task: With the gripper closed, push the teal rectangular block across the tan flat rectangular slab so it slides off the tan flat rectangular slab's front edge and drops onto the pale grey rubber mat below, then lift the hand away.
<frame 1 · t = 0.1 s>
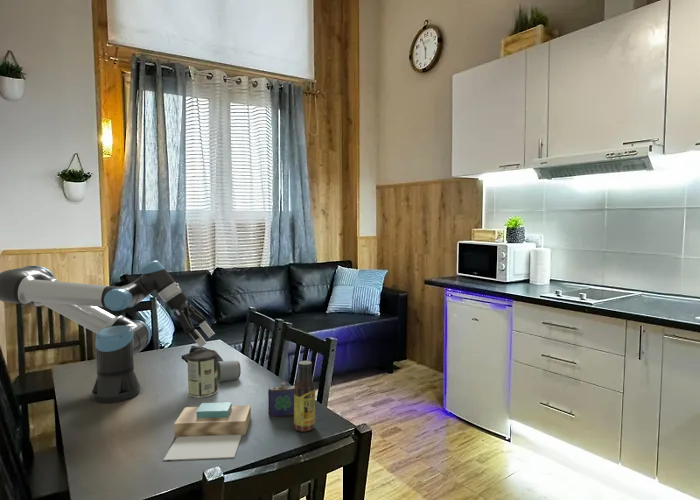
hand: (207, 340, 171), 15 cm above the table, tool tilted 35°, fingers open, 13 cm apart
mat: (204, 447, 121), on the table
flask: (283, 415, 141), on the table
sauce bottle: (304, 428, 132), on the table
tan flat rectangular slab: (214, 426, 133), on the table
dark slate chunk: (203, 361, 196), on the table
ceramic mug: (227, 379, 173), on the table
teal rectangular block: (214, 413, 133), point 4 cm above the table, touching tan flat rectangular slab
coffee can: (203, 392, 159), on the table
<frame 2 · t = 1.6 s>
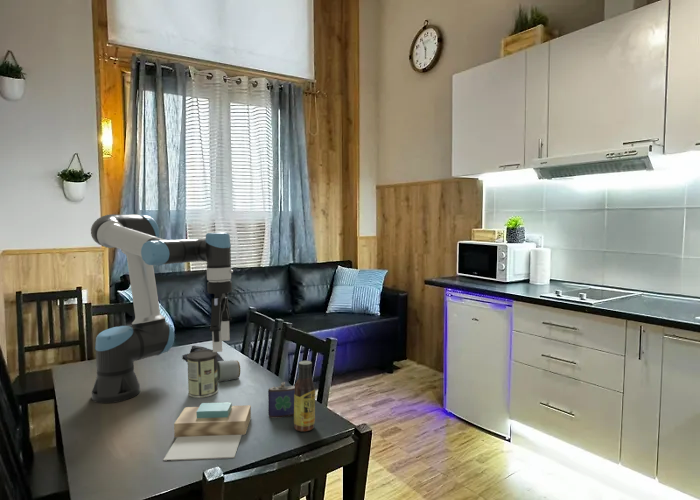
hand: (221, 345, 143), 21 cm above the table, tool pointing down, fingers open, 13 cm apart
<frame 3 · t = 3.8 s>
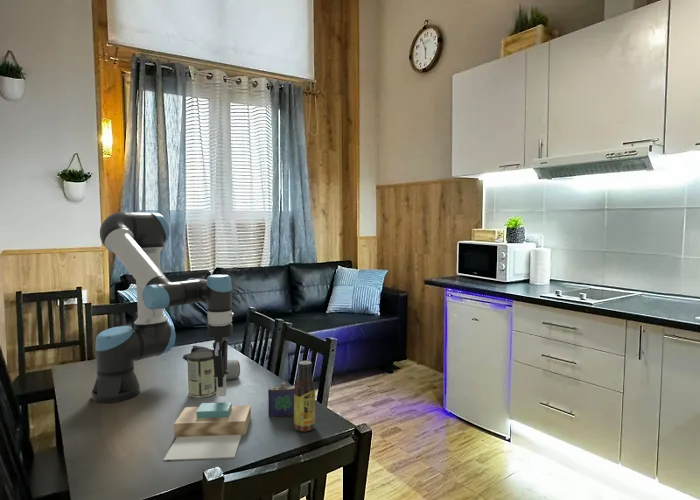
hand: (221, 395, 143), 5 cm above the table, tool pointing down, fingers closed
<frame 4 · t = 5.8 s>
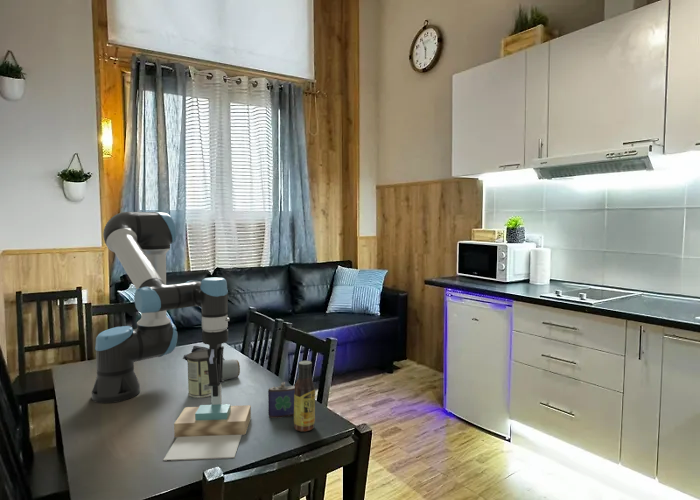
hand: (216, 405, 135), 6 cm above the table, tool pointing down, fingers closed
teal rectangular block: (213, 415, 131), point 4 cm above the table
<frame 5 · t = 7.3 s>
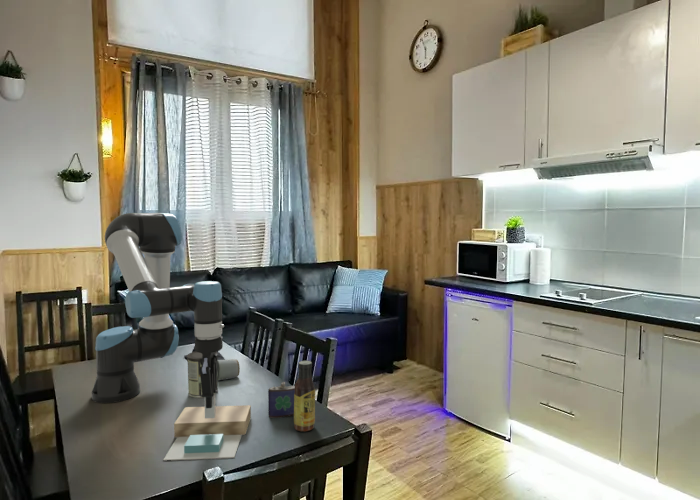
hand: (210, 417, 127), 6 cm above the table, tool pointing down, fingers closed
teal rectangular block: (204, 439, 120), point 2 cm above the table, tilted 180°, touching mat
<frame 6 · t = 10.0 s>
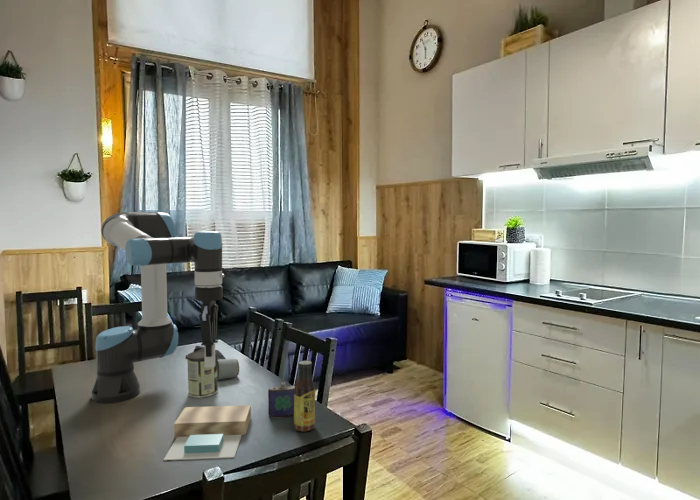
hand: (210, 366, 128), 20 cm above the table, tool pointing down, fingers closed
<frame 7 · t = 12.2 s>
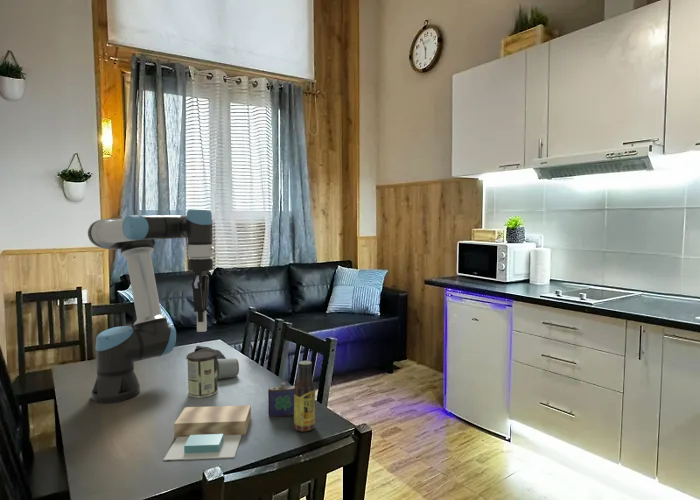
hand: (201, 331, 142), 26 cm above the table, tool pointing down, fingers closed
at the end: teal rectangular block point 2.3 cm above the table; teal rectangular block inside the target area on the mat (0.2 cm from its centre), point 2.3 cm above the mat's base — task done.
